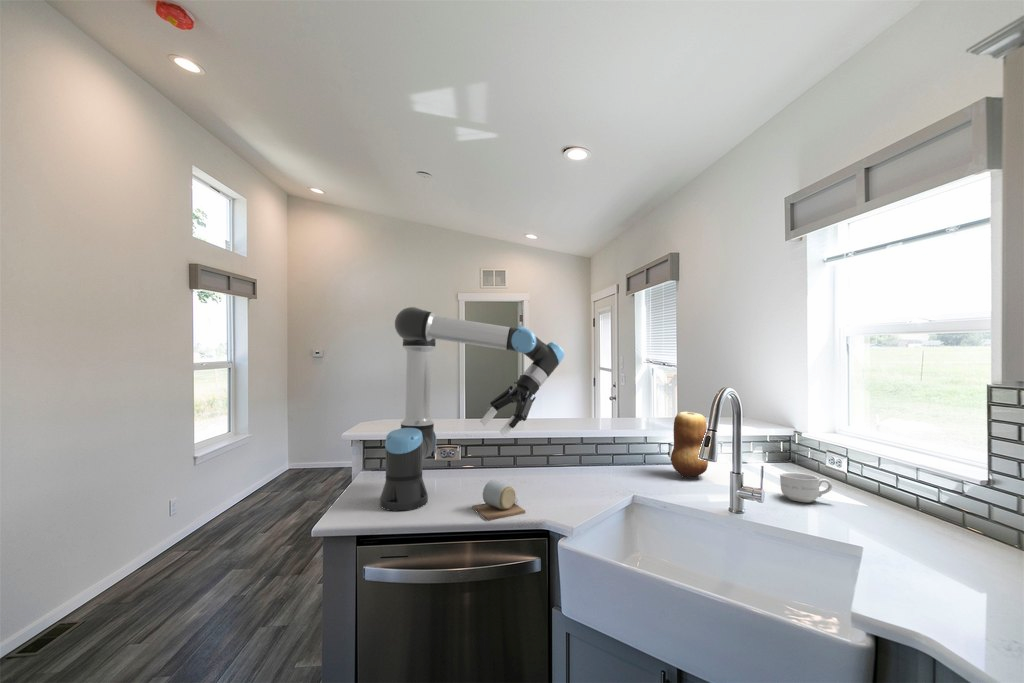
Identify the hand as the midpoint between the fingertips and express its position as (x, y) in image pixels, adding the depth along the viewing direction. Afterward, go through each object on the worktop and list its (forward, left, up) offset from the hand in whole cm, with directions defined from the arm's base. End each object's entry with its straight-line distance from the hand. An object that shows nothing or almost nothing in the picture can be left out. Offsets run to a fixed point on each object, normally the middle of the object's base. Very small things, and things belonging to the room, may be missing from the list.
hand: (492, 428), depth 141 cm
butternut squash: (+11, +79, -24) cm, 83 cm away
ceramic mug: (+7, 0, -23) cm, 24 cm away
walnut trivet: (+8, -2, -24) cm, 25 cm away
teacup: (+48, +89, -24) cm, 104 cm away
